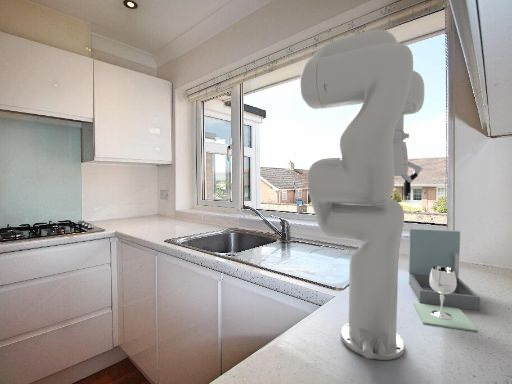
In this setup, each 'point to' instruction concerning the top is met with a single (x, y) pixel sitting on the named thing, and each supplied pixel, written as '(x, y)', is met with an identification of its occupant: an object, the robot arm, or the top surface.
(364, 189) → the robot arm
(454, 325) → the mat
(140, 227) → the top surface
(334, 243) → the top surface
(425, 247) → the case
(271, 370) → the top surface
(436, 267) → the wineglass
